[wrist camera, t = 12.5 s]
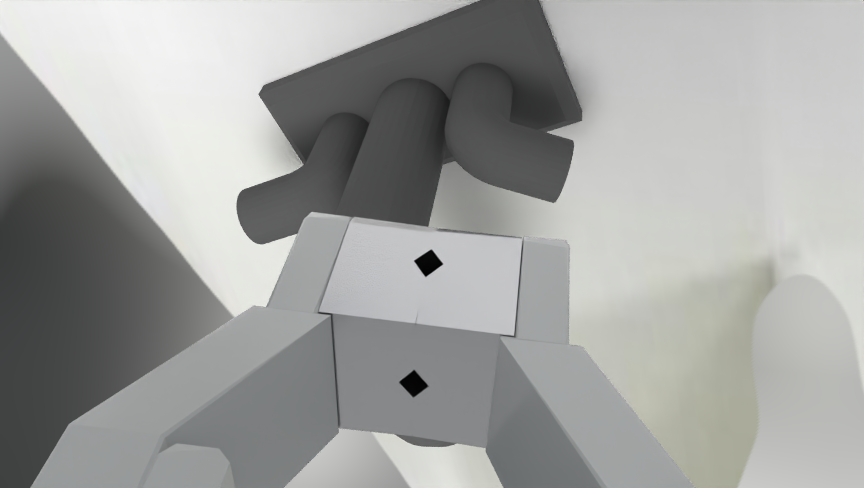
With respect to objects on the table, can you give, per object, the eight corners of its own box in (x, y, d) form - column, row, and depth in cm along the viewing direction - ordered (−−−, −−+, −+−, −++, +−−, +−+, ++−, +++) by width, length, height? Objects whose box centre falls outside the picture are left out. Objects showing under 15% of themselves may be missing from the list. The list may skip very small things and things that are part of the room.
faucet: (375, 273, 57) (302, 527, 42) (255, 88, 48) (108, 323, 33) (626, 205, 50) (647, 479, 35) (537, -23, 42) (514, 208, 26)
